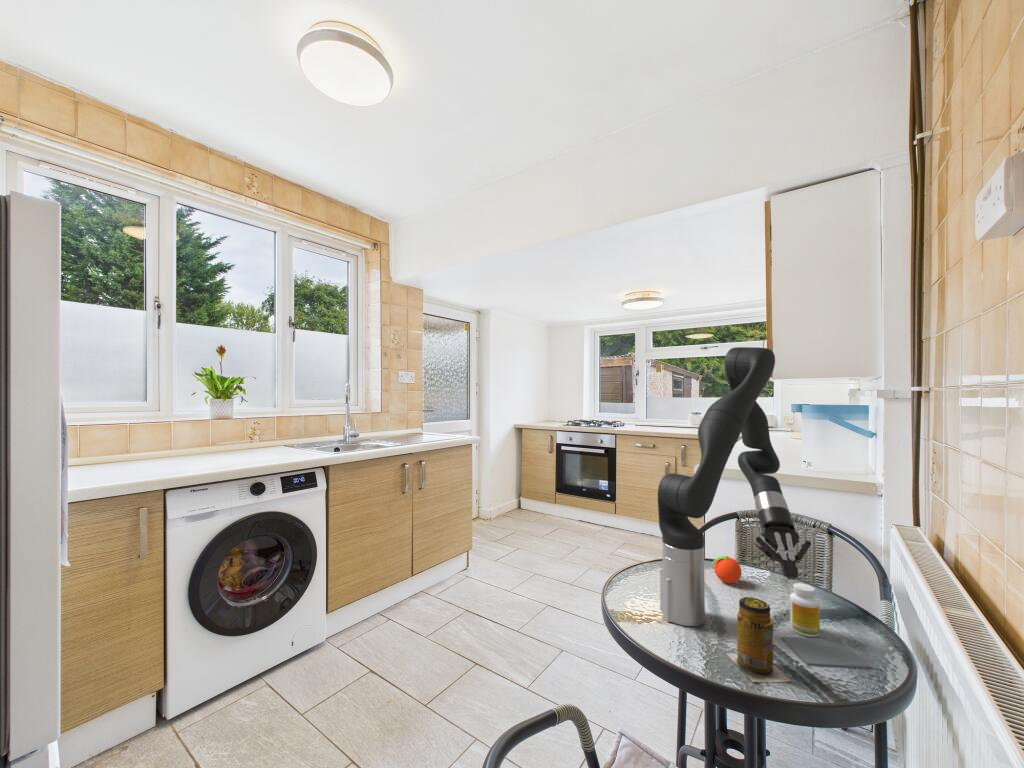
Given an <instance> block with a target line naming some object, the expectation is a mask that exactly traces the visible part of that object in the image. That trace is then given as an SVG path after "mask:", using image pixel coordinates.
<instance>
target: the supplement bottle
mask: <svg viewBox="0 0 1024 768" xmlns="http://www.w3.org/2000/svg"><path fill="white" fill-rule="evenodd" d="M792 587H793V588H792V591H793V592H792V593H790V595H789V626H790V628H791V630H792V631H793V632H795V633H796V634H798V635H801V636H804V637H806V638H818V637H819V636H820V634H821V632H820V631H821V629H820V628H821V627H820V602H819V600H818V599H817V598H816V590H815V589H816V588H814V587H813V586H812V585H809V584H805V583H799V582H796V583H794V584H792Z"/></svg>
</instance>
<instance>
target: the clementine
mask: <svg viewBox="0 0 1024 768" xmlns="http://www.w3.org/2000/svg"><path fill="white" fill-rule="evenodd" d="M710 566H713V570H714V573H715V576H716V577H717V578H718V579H719V580H720V581H722V582H723V583H726V584H734V583H737V582H738V581H739V580H740V579H741V577H742V567H741V565H740V563H739V562H738V561H737V560H735V559H734V558H733V557H731V556H719V557H716V558H715V559H714V560H713V561H712V562H711V565H710Z"/></svg>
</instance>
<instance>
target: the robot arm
mask: <svg viewBox="0 0 1024 768" xmlns="http://www.w3.org/2000/svg"><path fill="white" fill-rule="evenodd" d="M775 365H776V356H775V353H774V352H773V350H772V349H770V348H768V347H767V348H766V347H759V346H758V347H757V346H756V347H755V346H754V347H753V346H752V347H751V346H749V347H748V346H744V347H743V346H741V347H738V346H736V347H731V348H730V349H729V350H728V351H727V353H726V355H725V358H724V371H725V376H726V380H727V384H728V387H729V389H730V391H729V392H728V393H726V394H725V395H723V396H722V397H720V398H719V399H717V400H716V401H714V402H713V403H712V404H711V405H709V407H708V408H707V409H706V412H705V414H704V416H703V417H702V419H701V422H700V424H699V426H698V429H697V437H698V439H697V440H698V443H699V448H700V454H701V459H700V462H699V464H698V467H697V469H696V471H695V473H694V474H693V476H690V475H689V476H688V475H685V474H679V473H671V472H670V473H666V474H665V475H664V476H663V477H662V478H661V479H660V481H659V485H658V490H657V508H658V509H657V512H658V525H659V526H658V527H659V530H660V533H661V536H662V542H661V543H662V545H661V546H662V569H660V570H659V579H660V581H659V593H660V595H659V596H660V597H659V599H660V600H659V601H660V602H659V603H660V605H659V607H660V608H659V609H660V611H661V613H662V615H663V616H664V618H665V620H666V622H668V623H674V624H676V625H681V626H685V627H699V626H701V625H703V624H704V623H705V621H706V608H705V607H706V606H705V605H706V603H705V602H706V601H705V600H706V599H705V597H706V596H705V590H706V588H705V587H706V586H705V535H704V534H703V532H702V531H701V529H699V528H698V527H696V526H695V525H694V524H693V523H692V521H690V519H689V518H691V519H692V518H693V519H701V518H702V517H704V516H705V515H706V514H707V513H708V512H709V509H710V508H711V506H712V505H713V502H714V498H715V496H716V493H717V490H718V487H719V483H720V480H721V478H722V475H723V472H724V470H725V468H726V465H727V463H728V460H729V458H730V455H731V454H732V452H733V450H734V448H735V445H736V444H737V442H738V440H739V437H740V435H741V441H742V444H743V445H744V446H745V447H747V448H749V449H754V450H748V451H745V450H744V451H742V452H741V453H740V454H739V455H738V456H737V464H738V467H739V470H740V471H741V472H742V474H743V475H744V477H745V478H746V480H747V481H748V484H749V485H750V488H751V491H752V495H753V498H754V505H755V511H756V514H757V519H758V522H759V525H760V529H761V532H760V536H756V538H755V540H754V542H753V544H754V545H755V546H756V548H758V549H759V550H760V551H761V552H762V553H764V555H765V556H767V557H768V558H769V560H770V561H771V562H778V563H779V564H780V567H781V570H782V573H783V575H784V577H786V579H787V580H792V581H793V580H794V581H795V580H797V577H798V576H799V571H798V567H797V564H800V563H801V561H802V560H803V558H804V557H805V555H806V553H807V551H808V550H809V548H810V547H811V545H812V542H811V541H810V540H806V541H805V540H804V539H803V538H801V537H800V534H799V532H797V531H796V528H795V524H794V521H793V517H792V516H791V512H790V509H789V506H788V503H787V501H786V499H785V498H784V497H785V496H784V494H783V491H782V489H781V485H780V482H779V480H778V479H777V477H775V476H772V475H773V474H776V473H777V472H778V471H779V470H780V467H781V464H780V463H781V462H780V459H779V456H778V454H777V452H776V451H775V449H774V447H773V445H772V441H771V437H770V436H771V435H770V428H769V420H768V418H767V414H766V413H765V411H764V410H763V408H762V407H761V405H760V404H759V403H758V402H757V400H758V397H760V395H761V393H762V391H763V390H764V388H765V386H766V385H767V383H768V382H769V380H770V378H771V376H772V374H773V372H774V370H775ZM797 544H798V548H799V549H800V550H798V553H797V555H796V554H795V552H794V551H795V547H796V545H797Z"/></svg>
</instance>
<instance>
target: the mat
mask: <svg viewBox="0 0 1024 768" xmlns="http://www.w3.org/2000/svg"><path fill="white" fill-rule="evenodd" d="M780 640H782V642H783V643H785V645H786V646H788V647H789V649H790V650H791V651H792V652H793V653H794V654H796V656H797V657H798V658H799V659H800V660H801V661H802V662H803V663H804V664H805V665H806V666H814V667H815V666H817V667H831V668H832V667H837V668H853V669H855V668H856V669H859V668H860V669H873V665H871V664H870V663H869V662H867V660H865V659H864V658H863V657H862V656H861V655H860V654H858V653H857V652H855V651H854V650H853V649H852V648H851V647H849V646H848V645H847V644H846V643H845V642H844V641H842V640H841V639H840V638H839V639H838V638H823V637H822V638H820V637H799V636H797V637H796V636H794V637H793V636H780Z"/></svg>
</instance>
